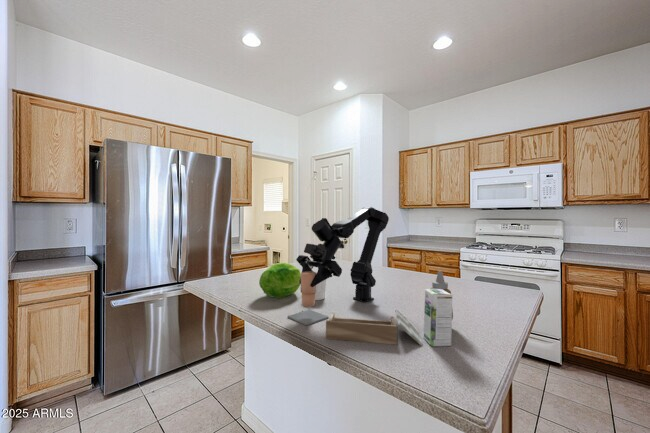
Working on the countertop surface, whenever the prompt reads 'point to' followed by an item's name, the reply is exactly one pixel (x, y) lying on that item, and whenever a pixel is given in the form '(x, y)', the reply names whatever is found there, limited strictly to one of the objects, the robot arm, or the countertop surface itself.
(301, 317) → the slate tile
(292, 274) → the lettuce
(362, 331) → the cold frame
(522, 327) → the countertop surface
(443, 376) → the countertop surface
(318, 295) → the white cup
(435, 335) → the syrup box
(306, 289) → the peach domed cylinder
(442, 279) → the squeeze bottle
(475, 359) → the countertop surface
